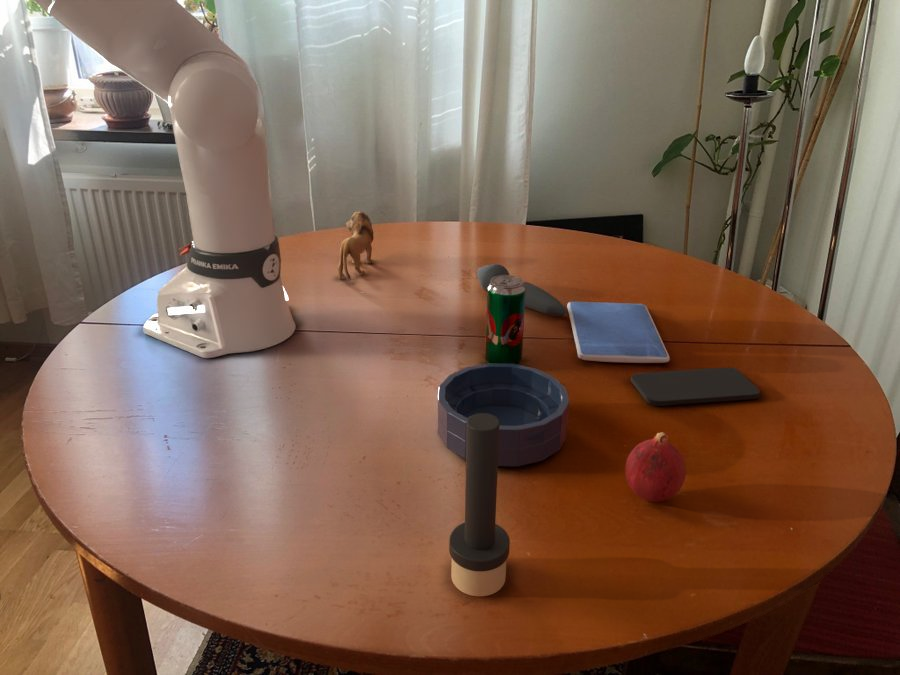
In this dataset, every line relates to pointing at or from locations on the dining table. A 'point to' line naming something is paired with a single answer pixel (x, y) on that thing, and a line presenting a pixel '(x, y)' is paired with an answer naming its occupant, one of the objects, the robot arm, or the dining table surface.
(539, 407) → the bowl
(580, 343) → the tablet
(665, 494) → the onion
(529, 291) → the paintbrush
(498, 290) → the soda can
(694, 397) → the phone
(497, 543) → the dish brush
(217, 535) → the dining table surface
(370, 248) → the lion figurine
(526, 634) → the dining table surface
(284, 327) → the robot arm
